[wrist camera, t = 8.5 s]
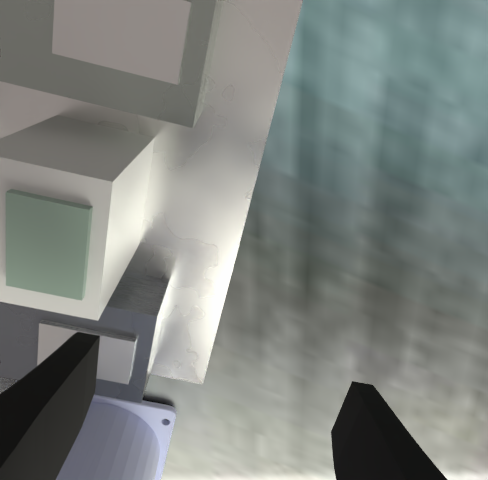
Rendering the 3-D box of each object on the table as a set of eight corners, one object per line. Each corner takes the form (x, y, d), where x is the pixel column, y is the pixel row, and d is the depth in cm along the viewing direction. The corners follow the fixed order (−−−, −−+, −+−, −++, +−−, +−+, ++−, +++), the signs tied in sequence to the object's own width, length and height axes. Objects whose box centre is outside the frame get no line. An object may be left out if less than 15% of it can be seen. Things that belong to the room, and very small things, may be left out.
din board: (204, 368, 25) (195, 434, 21) (-50, 318, 24) (-112, 377, 20) (308, -34, 16) (327, -55, 12) (-76, -141, 15) (-195, -204, 11)
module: (139, 243, 20) (95, 326, 15) (48, 224, 20) (-34, 300, 14) (154, 137, 18) (109, 185, 12) (53, 114, 18) (-41, 151, 12)
